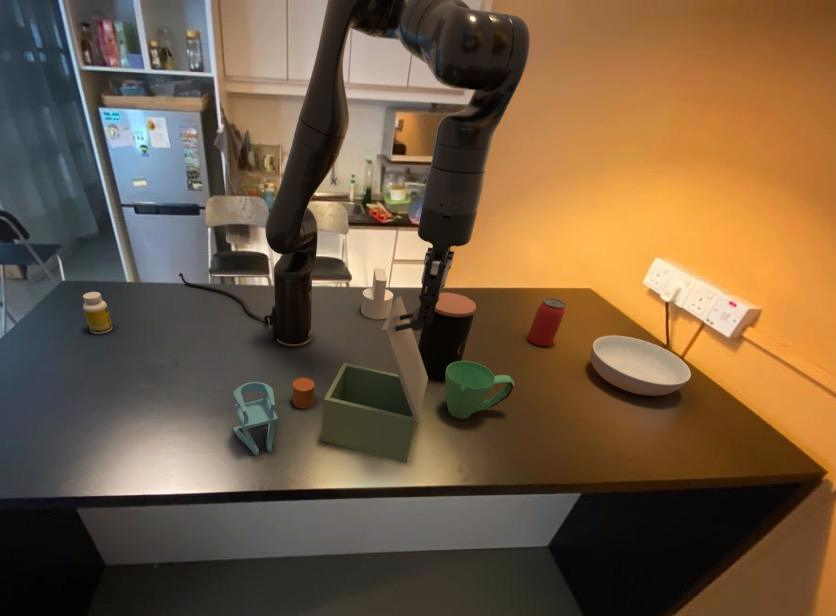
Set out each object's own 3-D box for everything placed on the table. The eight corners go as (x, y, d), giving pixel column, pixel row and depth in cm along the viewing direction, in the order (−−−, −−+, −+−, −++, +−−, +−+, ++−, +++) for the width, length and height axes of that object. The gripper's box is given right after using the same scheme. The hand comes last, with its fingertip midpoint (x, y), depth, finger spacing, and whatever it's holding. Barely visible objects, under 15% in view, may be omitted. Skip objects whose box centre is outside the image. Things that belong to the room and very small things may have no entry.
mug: (442, 426, 88) (453, 388, 82) (431, 397, 96) (440, 360, 90) (511, 427, 89) (526, 389, 83) (494, 397, 97) (507, 361, 91)
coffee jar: (458, 384, 100) (477, 316, 90) (413, 377, 102) (427, 309, 91) (457, 360, 109) (475, 295, 98) (415, 354, 110) (428, 289, 99)
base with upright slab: (391, 320, 125) (397, 281, 118) (361, 318, 125) (365, 279, 117) (389, 306, 132) (394, 269, 125) (360, 304, 132) (364, 267, 125)
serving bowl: (586, 393, 100) (598, 369, 96) (578, 350, 116) (588, 328, 112) (686, 417, 95) (704, 392, 91) (663, 368, 111) (677, 346, 107)
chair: (243, 459, 78) (237, 409, 70) (233, 430, 84) (227, 381, 77) (283, 449, 80) (282, 399, 73) (271, 421, 86) (268, 373, 79)
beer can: (526, 344, 118) (541, 304, 110) (527, 333, 123) (541, 295, 115) (551, 350, 116) (568, 310, 109) (551, 339, 121) (567, 300, 114)
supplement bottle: (115, 331, 111) (105, 297, 105) (92, 336, 109) (81, 301, 103) (111, 322, 115) (101, 289, 109) (88, 327, 112) (77, 293, 106)
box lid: (381, 330, 65) (414, 322, 63) (396, 297, 75) (426, 289, 73) (414, 419, 73) (444, 415, 71) (424, 378, 83) (451, 374, 81)
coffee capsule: (289, 405, 91) (289, 387, 88) (297, 393, 94) (297, 375, 91) (309, 410, 90) (310, 392, 87) (316, 398, 93) (317, 380, 90)
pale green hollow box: (321, 440, 83) (323, 399, 77) (340, 402, 93) (343, 362, 87) (406, 462, 79) (415, 421, 73) (416, 420, 89) (425, 380, 83)
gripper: (429, 190, 65) (412, 290, 74) (415, 213, 53) (396, 326, 63) (480, 197, 63) (455, 297, 73) (475, 221, 52) (447, 336, 62)
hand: (428, 311), depth 68 cm, fingers open, 8 cm apart
